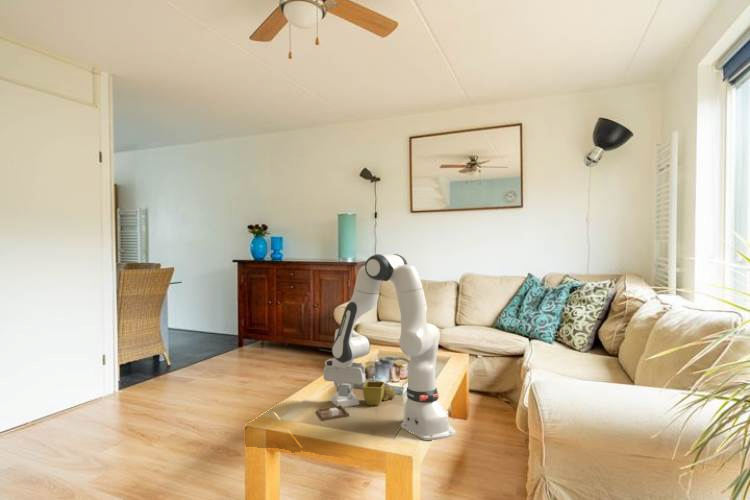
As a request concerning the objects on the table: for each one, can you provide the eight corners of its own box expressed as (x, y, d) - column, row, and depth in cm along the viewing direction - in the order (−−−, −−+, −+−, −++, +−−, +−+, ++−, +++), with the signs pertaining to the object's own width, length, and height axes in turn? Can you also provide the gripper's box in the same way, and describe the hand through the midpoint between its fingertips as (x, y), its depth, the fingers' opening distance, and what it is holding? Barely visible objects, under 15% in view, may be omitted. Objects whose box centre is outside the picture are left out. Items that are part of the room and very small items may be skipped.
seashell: (384, 410, 186) (393, 399, 183) (372, 400, 187) (381, 389, 184) (390, 400, 195) (399, 389, 192) (378, 390, 196) (387, 379, 193)
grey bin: (359, 405, 181) (358, 398, 181) (337, 409, 177) (337, 402, 177) (351, 398, 190) (351, 392, 190) (331, 402, 187) (331, 395, 187)
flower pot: (381, 408, 178) (381, 387, 178) (362, 407, 179) (362, 386, 180) (385, 401, 186) (385, 381, 187) (367, 400, 188) (366, 381, 188)
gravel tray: (349, 417, 167) (349, 413, 167) (323, 421, 163) (323, 418, 163) (341, 408, 177) (341, 405, 178) (317, 412, 173) (317, 409, 173)
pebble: (351, 393, 186) (351, 383, 186) (347, 396, 182) (347, 386, 182) (342, 392, 187) (341, 383, 187) (338, 396, 183) (338, 386, 183)
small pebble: (338, 417, 167) (338, 409, 167) (331, 418, 165) (331, 411, 165) (335, 414, 169) (335, 407, 169) (329, 416, 168) (329, 408, 168)
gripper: (367, 362, 183) (367, 392, 183) (328, 358, 191) (328, 387, 191) (361, 365, 178) (362, 396, 177) (321, 361, 186) (321, 391, 185)
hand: (344, 392), depth 184 cm, fingers closed on pebble, 5 cm apart
